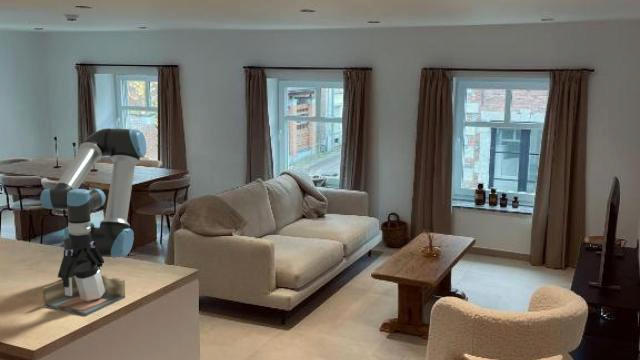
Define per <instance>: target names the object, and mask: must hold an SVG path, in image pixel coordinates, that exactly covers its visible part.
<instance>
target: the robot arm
mask: <svg viewBox="0 0 640 360" xmlns="http://www.w3.org/2000/svg"><path fill="white" fill-rule="evenodd" d="M145 137H146V136H145V134H144V132H142V130H140V129H134V128H133V129H132V128H111V127H110V128H108V127H107V128H102V129H100V130H97V131H95V132H94V133H92V134H90V135H89V136H88V137H86V138H85V139H84V140H83V141H82V142H81V144H80V145H79V146H78V153H77V154H76V155H75V157H74V158H73V160H72V161H71V163H70V164H69V165H68V167H67V168H66V169H65V171H64V172H63V174H62V175H61V176H60V178H59V180H58V181H57V182H56V184H55V185H54V186H53V187H52V188H50V187H49V188H44V189H43V190H42V191H41V194H40V198H39V199H40V204H41V207H42V208H44V209H48V210H49V209H50V210H64V211H65V210H67V221H68V222H67V223H68V224H67V225H68V226H67V227H65V228H64V230H63V248H64V249H63V257H62V260H61V264H60V268H59V270H58V272H57V278H59V279H61V280H60V281H62V280H63V286H64V287H65V295H68V296H72V278H70V277H72V276H75V273H74V269H75V268H76V267H77V266H78V265H80V264H83V263H86V262H92V263H96V264H97V267H98V269H99V270H100V273H101V267H103V264H104V263H105V260H104V258H113V259H116V258H124V257H126V256H128V254H130V252H131V250H132V248H133V244H134V240H135V237H134V235H135V233H134V231H133V229H131V225H130V223H129V222H128V215H129V209H130V202H131V195H132V188H133V187H132V186H133V181H134V175H135V168H136V166H137V165H138V164H139V163H140V161H141V160H140V159H142V158H144V157H146V154H147V141H146V138H145ZM104 157H110V160H111V161H112V162H113V164H112V172H111V178H110V185H109V192H108V196H107V197H108V198H107V204H106V210H105V215H104V219H102V220H101V221H100V222H99V227H95V226H96V225H95V223H94V222H92V221H91V213H92V212H94V211H96V210H98V209H100V208H101V207H103V206H104V205H105V203H106V194H105V193H104V191H103V190H102V189H99V188H89V189H86V188H80V186H81V185H82V183H83V182H84V180H85V179H86V177H87V175H88V174H89V172H90V171H91V169H92V168H93V166H94V165H95V164H96V163H97V162H99V161H100V160H101V159H102V158H104ZM101 274H102V273H101Z"/></svg>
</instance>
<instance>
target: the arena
mask: <svg viewBox="0 0 640 360" xmlns="http://www.w3.org/2000/svg"><path fill="white" fill-rule="evenodd" d="M101 277H102V280H103V284H104V288H105V293H104V294H103V295H102V296H101V298H98V299H95V300H92V301H85V300H83V299H81V298H80V295H79V291H78V287H77V284H76V280H75V276H72V277H70V278H72V296H68V295H65V287H64V286H63V280H62V281H61V280H60V281H57V282H55V283H52V284H49V285H47V286H44V287H42V292H43V306H44V307H45V306H46V307H45V308H49V307H51V309H54V310H58V309H59V311H64V312H68V313H72V314H76V315H81V316H86V317H88V316H89V315H91V314H94V313H95V312H98V311H100V310H102V309H104V308H105V307H106V308H107V306H110V305H112V304H114V303H116V302H119V301H121V300H123V299H126V285H125V282H126V281H125V279H122V278H117V277H112V276H106V275H102V274H101Z"/></svg>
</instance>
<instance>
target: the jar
mask: <svg viewBox="0 0 640 360" xmlns="http://www.w3.org/2000/svg"><path fill="white" fill-rule="evenodd" d="M100 272H101V269H100V270H99V269H98V267H97V264H96V263H92V262H86V263H83V264H80V265H78V266H77V267H76V268H75V269H74V273H75V280H76V284H77V287H78V291H79V295H80V298H81V299H83V300H85V301H92V300H95V299H98V298H101V296H102V295H103V294H104V293H105V288H104V284H103V280H102V277H101V275H102V273H100Z"/></svg>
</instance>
